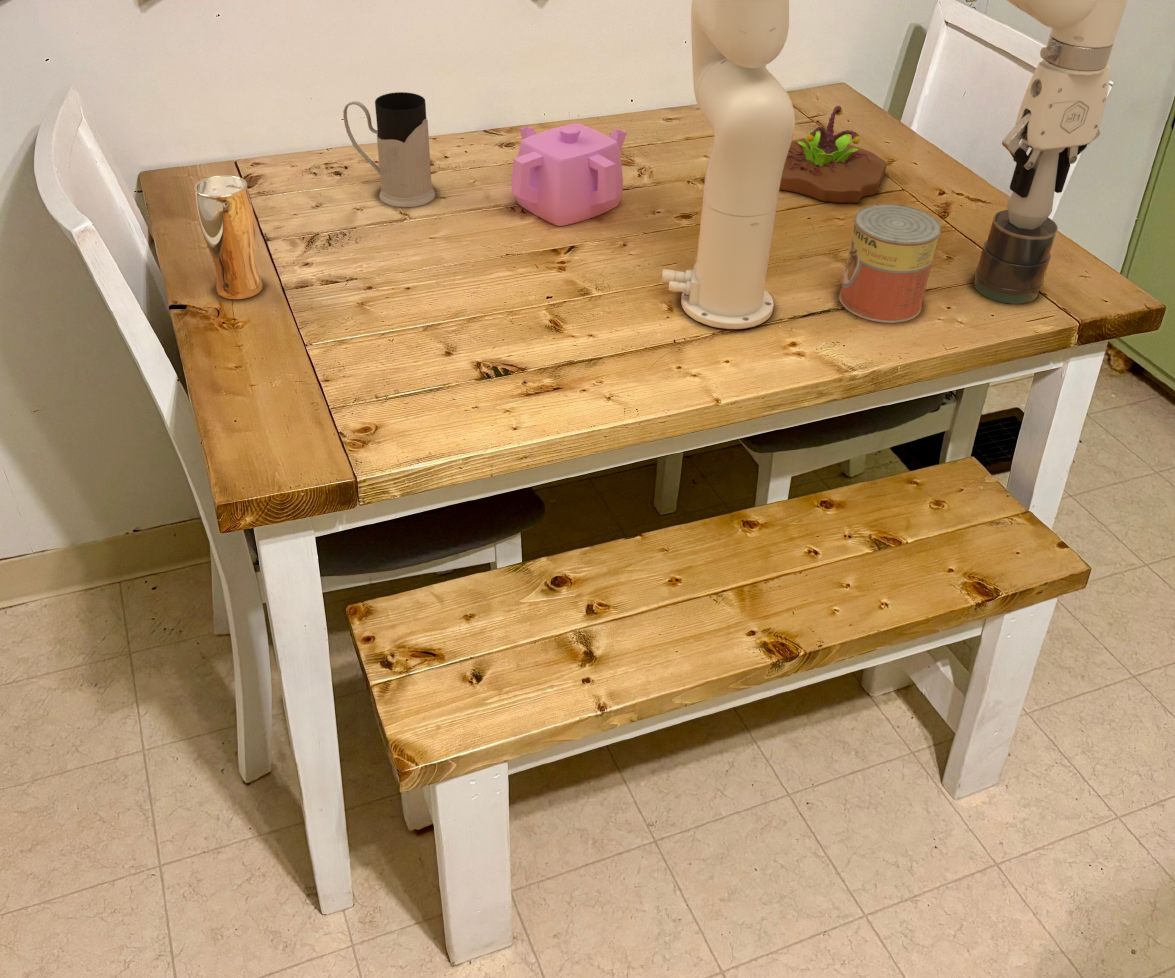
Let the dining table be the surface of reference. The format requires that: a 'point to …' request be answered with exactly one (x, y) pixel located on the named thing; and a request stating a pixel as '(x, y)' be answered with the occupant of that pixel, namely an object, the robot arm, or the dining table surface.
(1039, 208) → the salt shaker
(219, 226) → the beer glass
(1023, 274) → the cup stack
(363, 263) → the dining table surface
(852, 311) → the canned food
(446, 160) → the dining table surface
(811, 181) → the plant
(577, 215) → the teakettle
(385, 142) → the glass holder
